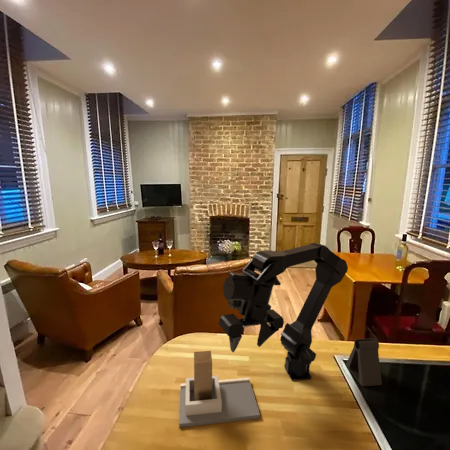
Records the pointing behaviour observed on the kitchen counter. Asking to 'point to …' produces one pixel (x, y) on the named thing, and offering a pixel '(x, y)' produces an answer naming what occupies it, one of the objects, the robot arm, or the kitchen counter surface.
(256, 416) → the grey socket base
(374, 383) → the phone stand
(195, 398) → the bar
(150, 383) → the kitchen counter surface
